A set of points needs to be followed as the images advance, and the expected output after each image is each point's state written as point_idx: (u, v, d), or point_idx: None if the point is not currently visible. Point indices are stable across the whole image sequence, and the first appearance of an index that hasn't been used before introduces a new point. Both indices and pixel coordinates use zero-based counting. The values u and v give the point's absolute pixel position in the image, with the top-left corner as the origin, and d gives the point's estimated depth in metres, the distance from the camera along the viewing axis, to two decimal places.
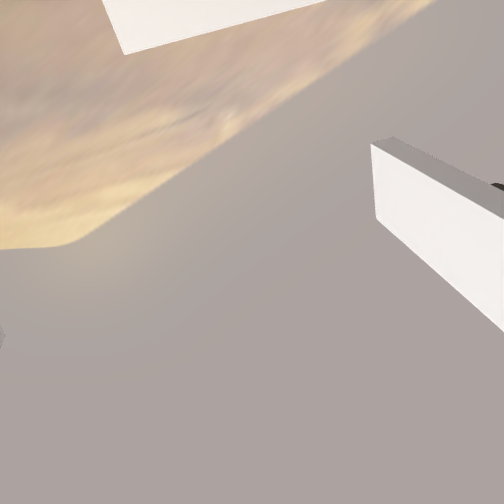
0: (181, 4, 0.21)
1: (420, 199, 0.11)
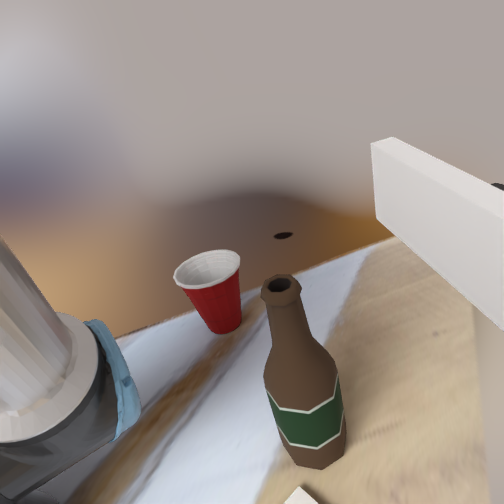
0: None
1: (420, 200, 0.11)
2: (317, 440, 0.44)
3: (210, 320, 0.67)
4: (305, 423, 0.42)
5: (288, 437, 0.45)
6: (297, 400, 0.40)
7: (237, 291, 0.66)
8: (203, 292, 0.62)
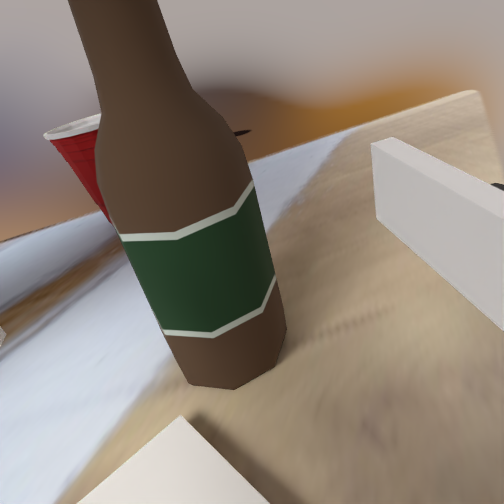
0: None
1: (420, 200, 0.11)
2: (211, 315, 0.21)
3: None
4: (178, 271, 0.20)
5: (157, 316, 0.22)
6: (146, 204, 0.18)
7: None
8: (81, 145, 0.40)
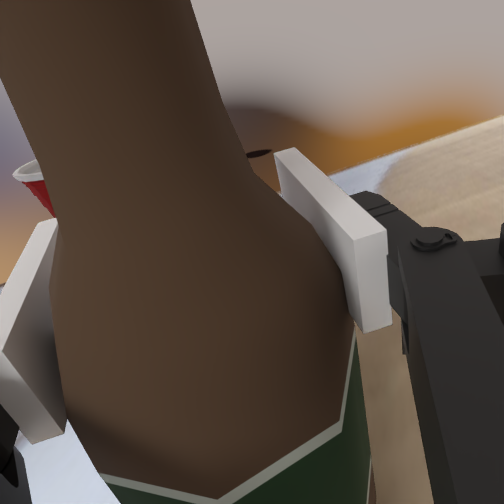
0: None
1: (303, 205, 0.12)
2: None
3: None
4: None
5: None
6: (156, 446, 0.08)
7: None
8: None
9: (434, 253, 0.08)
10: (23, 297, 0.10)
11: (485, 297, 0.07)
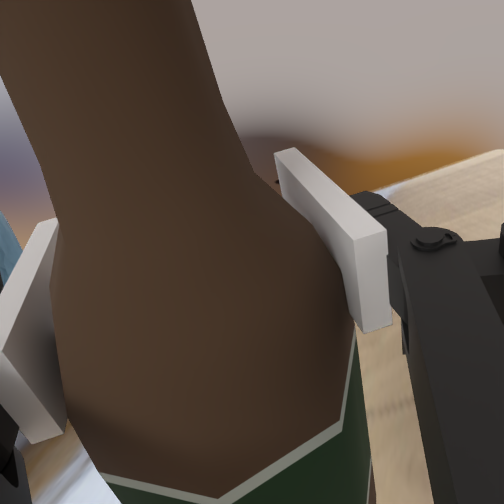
0: None
1: (303, 206, 0.12)
2: None
3: None
4: None
5: None
6: (157, 445, 0.08)
7: None
8: None
9: (434, 253, 0.08)
10: (23, 297, 0.10)
11: (485, 297, 0.07)
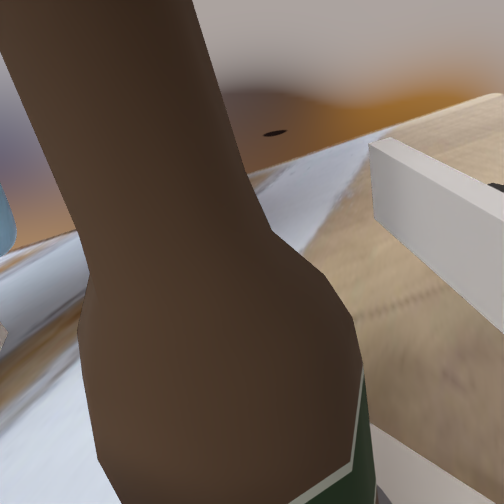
0: None
1: (417, 200, 0.11)
2: None
3: None
4: None
5: None
6: (182, 489, 0.09)
7: None
8: None
9: None
10: None
11: None
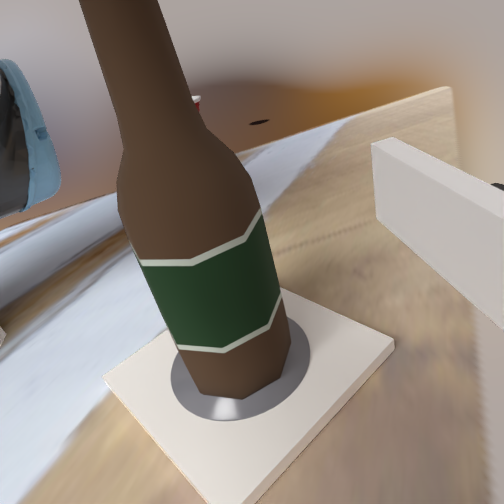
0: (252, 443, 0.24)
1: (420, 199, 0.11)
2: (222, 332, 0.23)
3: None
4: (192, 293, 0.22)
5: (172, 332, 0.24)
6: (165, 234, 0.20)
7: None
8: None
9: None
10: None
11: None
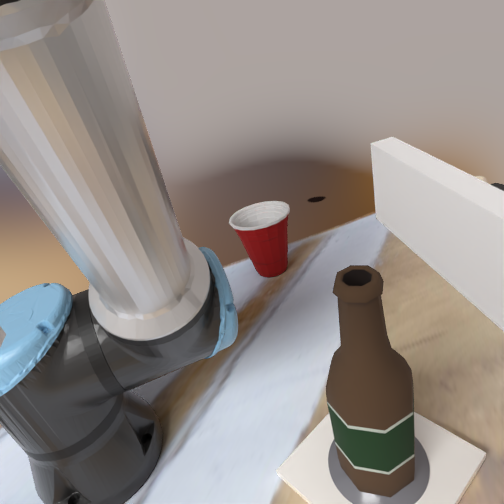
0: None
1: (420, 200, 0.11)
2: (390, 463, 0.37)
3: (261, 263, 0.74)
4: (379, 445, 0.35)
5: (354, 460, 0.38)
6: (372, 417, 0.34)
7: (286, 236, 0.73)
8: (258, 233, 0.69)
9: None
10: None
11: None
